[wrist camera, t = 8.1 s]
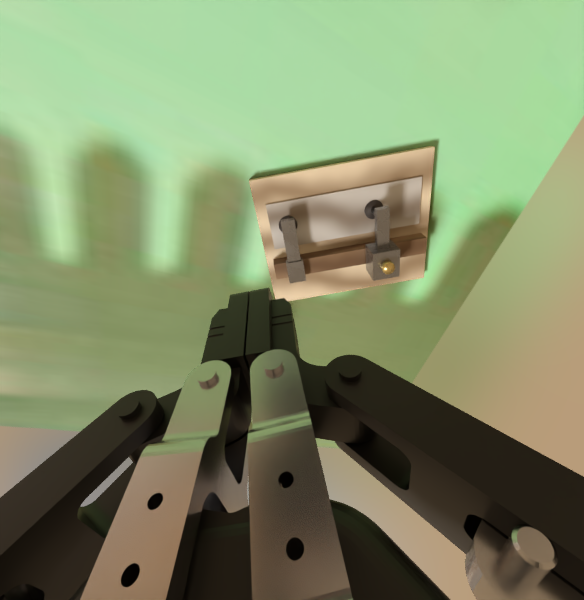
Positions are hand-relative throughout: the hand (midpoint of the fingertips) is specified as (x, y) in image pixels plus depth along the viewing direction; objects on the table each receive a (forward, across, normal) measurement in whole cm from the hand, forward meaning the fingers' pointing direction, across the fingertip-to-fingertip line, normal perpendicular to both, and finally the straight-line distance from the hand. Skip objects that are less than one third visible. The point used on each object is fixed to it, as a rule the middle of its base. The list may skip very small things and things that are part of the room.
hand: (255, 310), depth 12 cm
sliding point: (+30, -14, +11) cm, 35 cm away
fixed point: (+31, -2, +11) cm, 33 cm away
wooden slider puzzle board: (+32, -10, +11) cm, 36 cm away
